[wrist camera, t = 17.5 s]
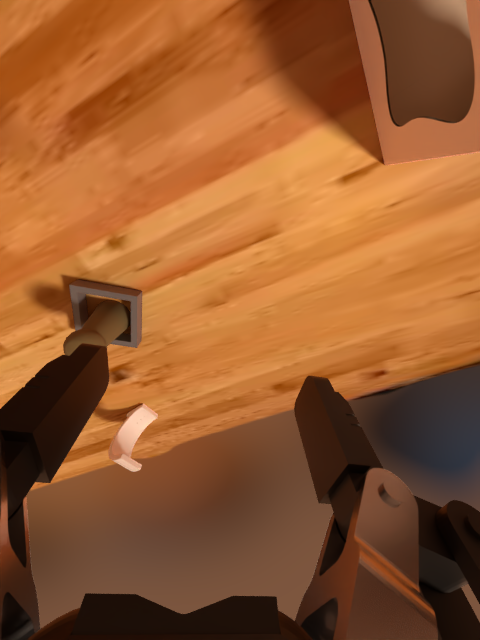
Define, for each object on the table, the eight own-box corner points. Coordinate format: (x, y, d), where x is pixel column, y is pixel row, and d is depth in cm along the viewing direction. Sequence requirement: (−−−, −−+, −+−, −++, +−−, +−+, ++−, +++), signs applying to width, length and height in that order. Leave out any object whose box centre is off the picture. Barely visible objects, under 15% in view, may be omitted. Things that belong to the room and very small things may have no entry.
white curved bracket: (158, 414, 54) (140, 469, 43) (139, 425, 56) (117, 480, 45) (143, 403, 52) (120, 458, 42) (124, 414, 54) (97, 470, 43)
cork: (115, 293, 40) (77, 328, 30) (139, 321, 42) (112, 361, 33) (88, 310, 41) (44, 348, 31) (113, 335, 43) (79, 378, 34)
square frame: (77, 279, 38) (69, 284, 36) (142, 291, 39) (137, 296, 37) (84, 331, 43) (76, 338, 41) (141, 340, 44) (136, 347, 42)
